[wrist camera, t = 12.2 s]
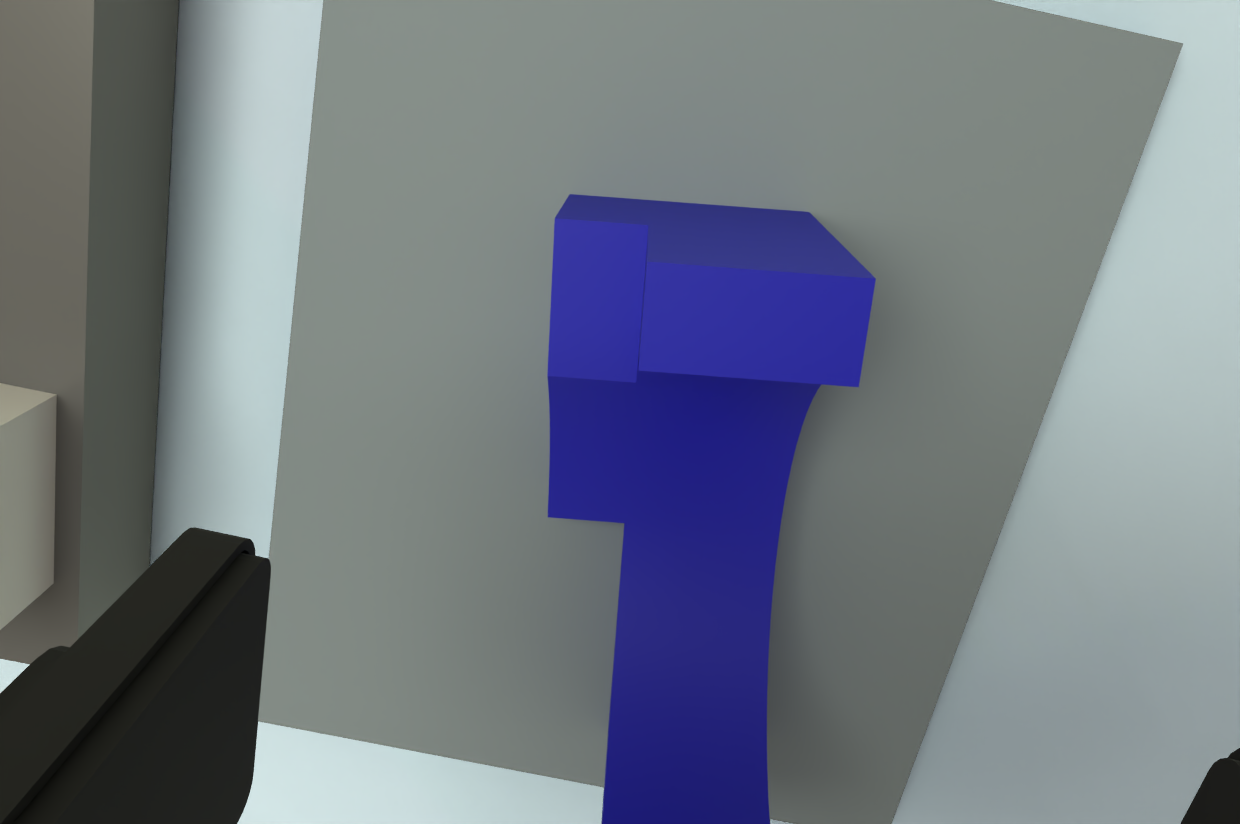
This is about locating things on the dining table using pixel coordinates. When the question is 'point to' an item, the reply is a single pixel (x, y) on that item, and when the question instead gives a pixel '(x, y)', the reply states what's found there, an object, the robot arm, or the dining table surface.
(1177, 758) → the dining table surface
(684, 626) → the blue curved block
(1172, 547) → the dining table surface
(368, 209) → the slate mat
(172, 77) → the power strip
